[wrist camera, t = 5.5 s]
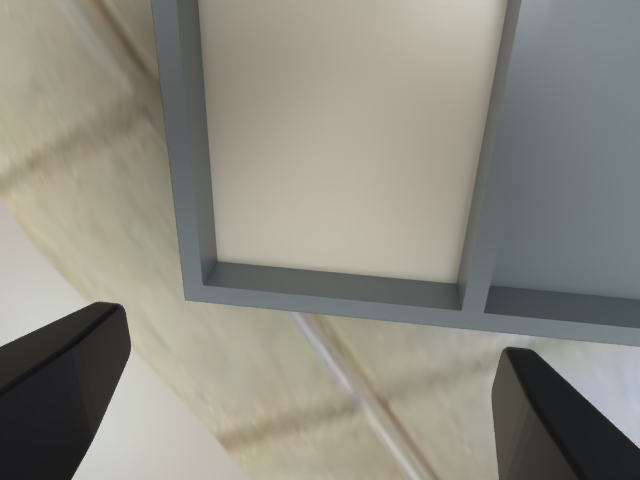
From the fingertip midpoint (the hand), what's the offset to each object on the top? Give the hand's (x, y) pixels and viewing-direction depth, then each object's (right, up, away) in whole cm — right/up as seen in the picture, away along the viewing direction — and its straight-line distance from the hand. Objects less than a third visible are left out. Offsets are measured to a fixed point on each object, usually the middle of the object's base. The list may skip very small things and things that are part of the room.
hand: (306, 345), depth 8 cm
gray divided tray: (+6, +5, +10) cm, 13 cm away
